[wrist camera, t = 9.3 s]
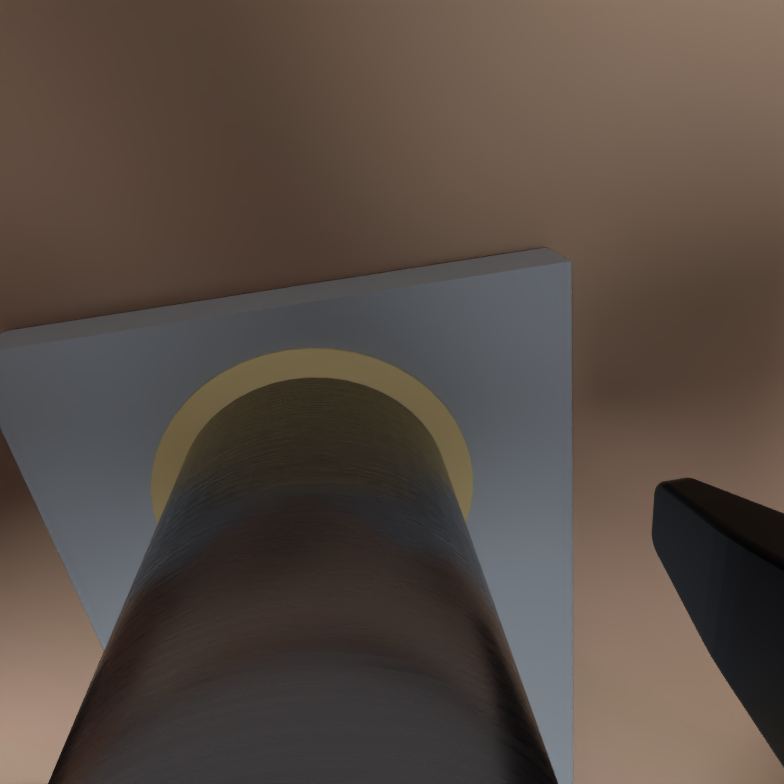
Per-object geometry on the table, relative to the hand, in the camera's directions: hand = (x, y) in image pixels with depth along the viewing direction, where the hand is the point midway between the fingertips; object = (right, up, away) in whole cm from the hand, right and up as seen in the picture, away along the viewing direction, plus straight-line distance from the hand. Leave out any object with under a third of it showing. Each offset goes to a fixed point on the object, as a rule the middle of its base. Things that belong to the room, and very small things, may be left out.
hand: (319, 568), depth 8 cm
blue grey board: (+1, -4, +5) cm, 7 cm away
